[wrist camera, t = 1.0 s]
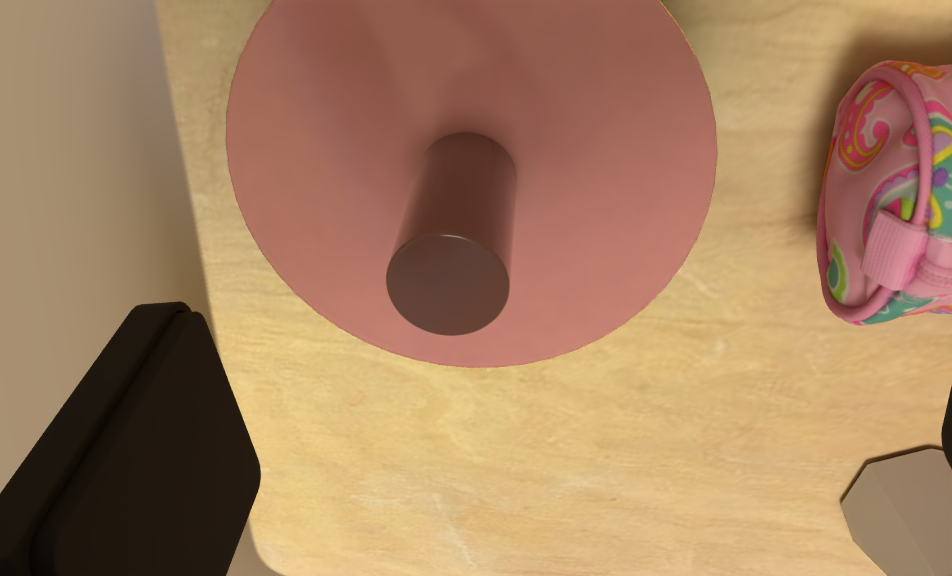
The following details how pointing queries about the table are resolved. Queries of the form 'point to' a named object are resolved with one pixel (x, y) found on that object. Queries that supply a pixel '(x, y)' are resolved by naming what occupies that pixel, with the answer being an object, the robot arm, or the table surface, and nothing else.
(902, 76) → the pencil case
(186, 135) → the table surface
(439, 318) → the pink knobbed disc
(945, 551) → the flask
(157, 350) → the robot arm
